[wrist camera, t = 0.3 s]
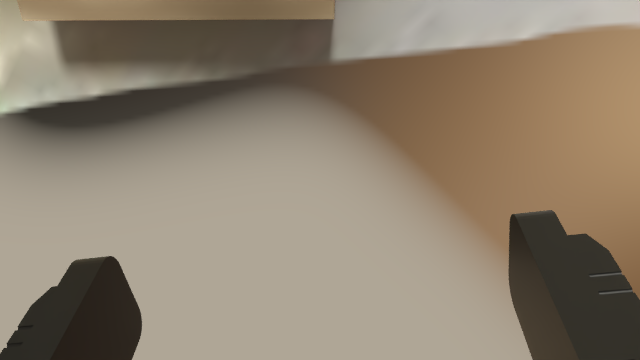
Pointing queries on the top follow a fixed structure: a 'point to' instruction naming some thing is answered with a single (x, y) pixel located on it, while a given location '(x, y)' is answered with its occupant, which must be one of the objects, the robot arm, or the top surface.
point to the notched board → (175, 9)
